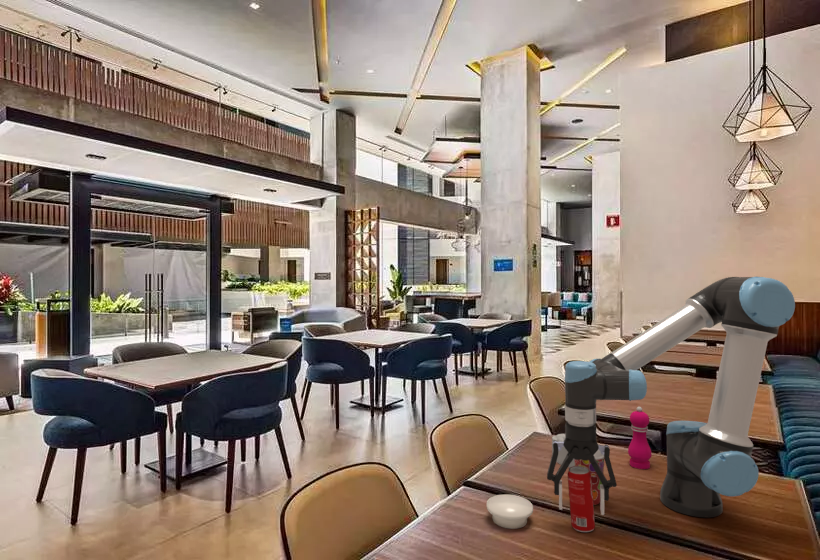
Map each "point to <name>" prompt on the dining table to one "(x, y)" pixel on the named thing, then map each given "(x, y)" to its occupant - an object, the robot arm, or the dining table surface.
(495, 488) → the dining table surface
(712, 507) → the robot arm
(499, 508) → the stand
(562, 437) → the lumpy-topped squat cylinder
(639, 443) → the pepper mill
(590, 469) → the smoothie
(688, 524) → the dining table surface
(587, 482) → the beverage can
